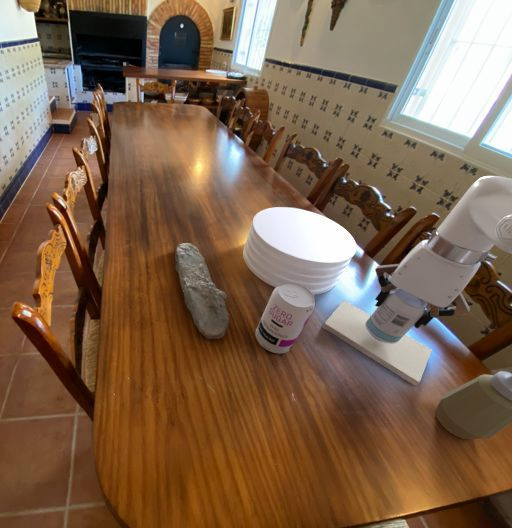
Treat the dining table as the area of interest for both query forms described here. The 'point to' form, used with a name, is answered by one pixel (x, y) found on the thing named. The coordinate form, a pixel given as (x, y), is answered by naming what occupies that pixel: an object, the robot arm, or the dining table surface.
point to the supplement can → (284, 317)
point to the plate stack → (298, 248)
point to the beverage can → (395, 316)
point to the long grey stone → (201, 293)
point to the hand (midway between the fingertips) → (397, 313)
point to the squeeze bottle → (478, 407)
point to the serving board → (379, 343)
